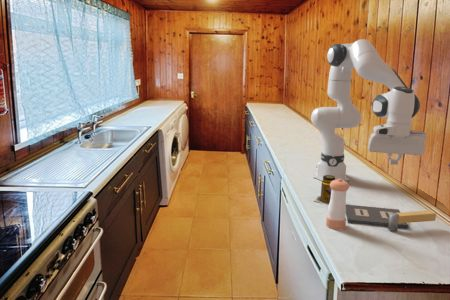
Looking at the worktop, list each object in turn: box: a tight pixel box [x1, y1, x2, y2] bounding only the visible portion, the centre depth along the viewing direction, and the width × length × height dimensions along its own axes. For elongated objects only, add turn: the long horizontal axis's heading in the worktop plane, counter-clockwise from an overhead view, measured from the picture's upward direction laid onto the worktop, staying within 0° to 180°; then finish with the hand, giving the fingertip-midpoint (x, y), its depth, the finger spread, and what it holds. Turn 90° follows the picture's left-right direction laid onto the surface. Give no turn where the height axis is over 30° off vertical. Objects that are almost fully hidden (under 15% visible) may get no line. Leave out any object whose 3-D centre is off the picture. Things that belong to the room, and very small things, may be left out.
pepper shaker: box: [325, 179, 350, 231], centre depth 144 cm, size 7×7×19 cm
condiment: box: [314, 175, 335, 206], centre depth 170 cm, size 7×8×12 cm
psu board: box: [345, 204, 409, 230], centre depth 154 cm, size 16×22×2 cm
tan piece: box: [387, 209, 437, 232], centre depth 143 cm, size 18×3×6 cm, turn 101°
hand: (393, 164), depth 148 cm, fingers closed
